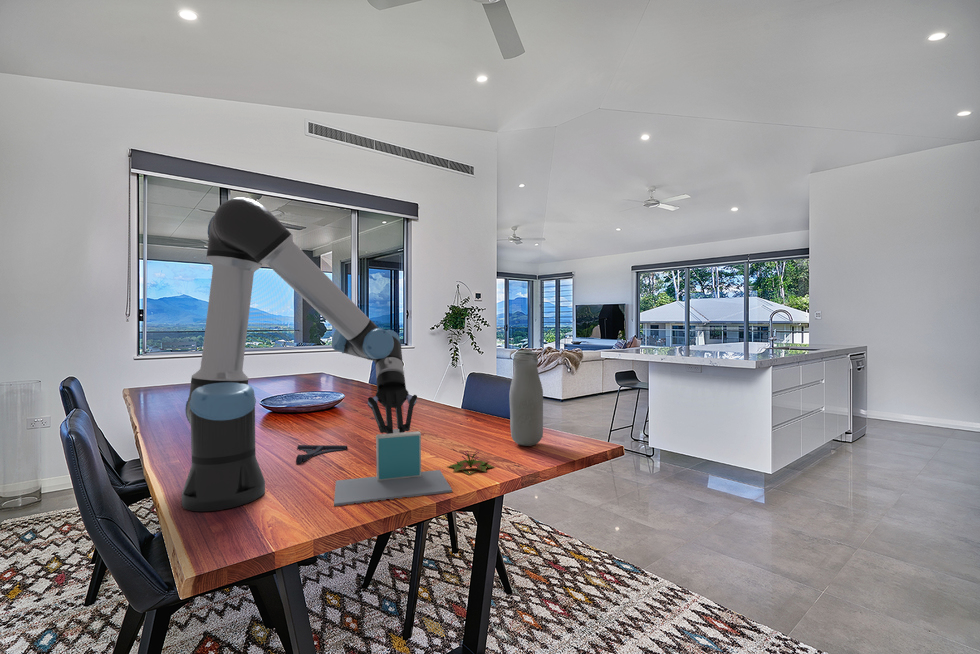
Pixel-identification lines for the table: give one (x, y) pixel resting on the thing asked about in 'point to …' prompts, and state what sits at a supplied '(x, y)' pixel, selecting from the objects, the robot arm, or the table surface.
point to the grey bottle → (526, 400)
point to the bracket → (317, 451)
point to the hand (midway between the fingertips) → (397, 455)
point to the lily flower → (470, 464)
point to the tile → (398, 455)
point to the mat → (389, 488)
